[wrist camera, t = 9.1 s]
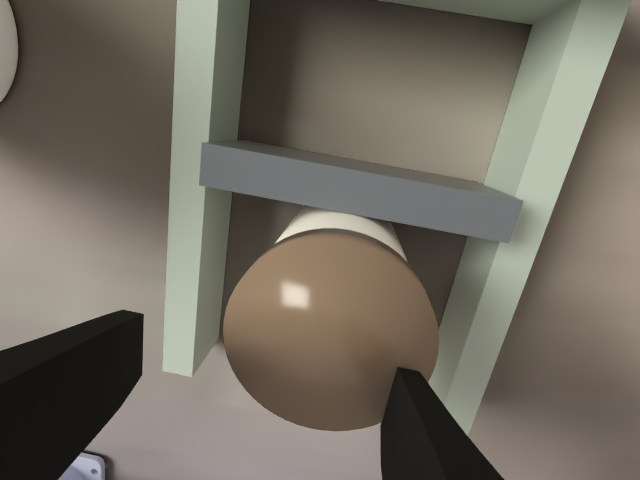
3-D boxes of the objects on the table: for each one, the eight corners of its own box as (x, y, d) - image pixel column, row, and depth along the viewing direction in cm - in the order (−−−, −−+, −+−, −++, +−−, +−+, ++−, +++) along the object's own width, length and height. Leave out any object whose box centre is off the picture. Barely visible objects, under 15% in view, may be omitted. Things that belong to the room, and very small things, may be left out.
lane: (449, 385, 20) (495, 511, 13) (193, 332, 21) (116, 426, 14) (583, -12, 14) (784, -140, 8) (221, -67, 15) (111, -229, 8)
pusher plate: (466, 212, 17) (508, 243, 12) (242, 171, 17) (198, 185, 13) (475, 181, 16) (523, 200, 12) (245, 140, 17) (201, 142, 12)
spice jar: (384, 304, 19) (408, 449, 10) (279, 283, 19) (214, 406, 10) (411, 199, 17) (467, 266, 9) (295, 177, 18) (234, 219, 9)
